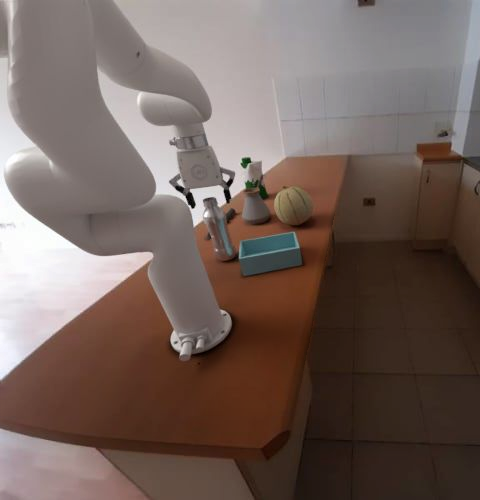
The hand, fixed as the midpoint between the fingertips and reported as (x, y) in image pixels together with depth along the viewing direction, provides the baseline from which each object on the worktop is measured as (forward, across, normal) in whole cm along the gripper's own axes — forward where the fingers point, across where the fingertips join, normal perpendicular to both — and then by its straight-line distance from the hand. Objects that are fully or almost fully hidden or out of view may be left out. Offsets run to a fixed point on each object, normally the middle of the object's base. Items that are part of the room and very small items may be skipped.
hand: (211, 204), depth 81 cm
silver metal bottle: (+18, 0, -1) cm, 18 cm away
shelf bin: (+18, +14, -8) cm, 24 cm away
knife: (+19, -4, +28) cm, 34 cm away
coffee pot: (+19, +12, +31) cm, 38 cm away
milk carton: (+19, +11, +55) cm, 60 cm away
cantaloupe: (+19, +25, +17) cm, 36 cm away
